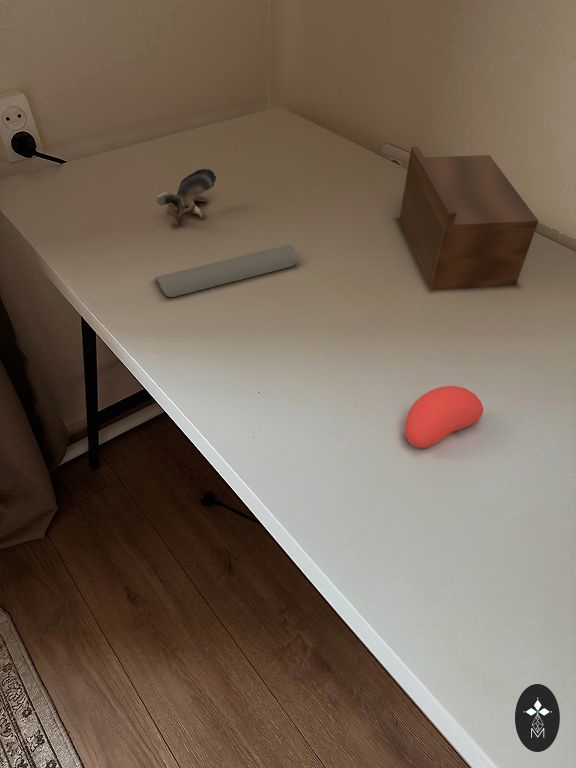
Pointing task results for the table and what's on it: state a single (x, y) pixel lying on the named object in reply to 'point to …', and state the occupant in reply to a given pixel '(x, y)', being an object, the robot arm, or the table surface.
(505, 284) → the wooden box with backboard
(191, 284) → the gray half cylinder
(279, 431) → the table surface
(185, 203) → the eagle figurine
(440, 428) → the stress ball
